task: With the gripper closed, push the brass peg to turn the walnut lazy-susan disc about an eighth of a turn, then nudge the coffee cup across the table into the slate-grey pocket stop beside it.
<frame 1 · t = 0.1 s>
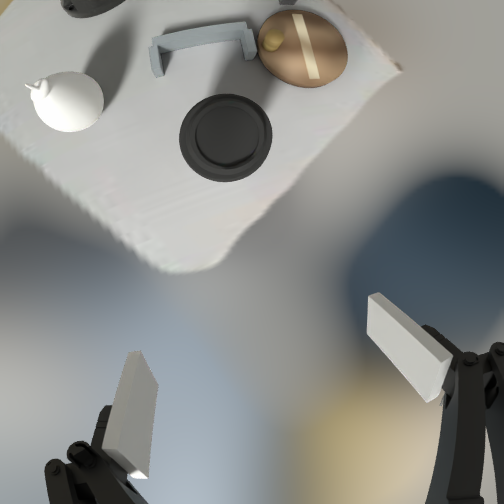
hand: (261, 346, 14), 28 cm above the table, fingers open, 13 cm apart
coffee cup: (220, 146, 37), on the table
pocket stop: (199, 41, 31), on the table
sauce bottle: (91, 110, 32), on the table
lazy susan: (307, 42, 30), point 3 cm above the table, hinge at 0.0°
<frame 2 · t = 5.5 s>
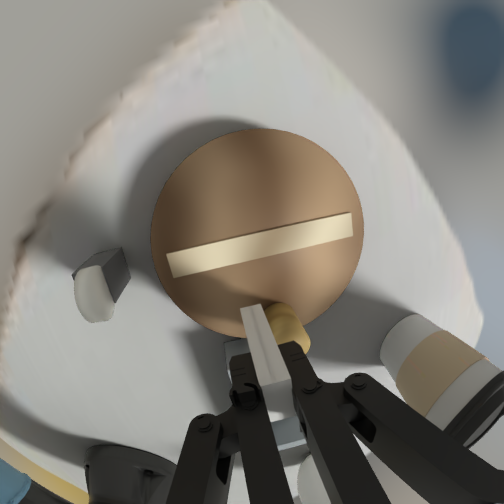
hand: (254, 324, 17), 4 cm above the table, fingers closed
coffee cup: (403, 340, 26), on the table
pocket stop: (247, 392, 24), on the table
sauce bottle: (314, 453, 31), on the table
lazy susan: (267, 247, 16), point 3 cm above the table, hinge at 1.0°, touching gripper
dark boxy piece: (112, 266, 19), on the table
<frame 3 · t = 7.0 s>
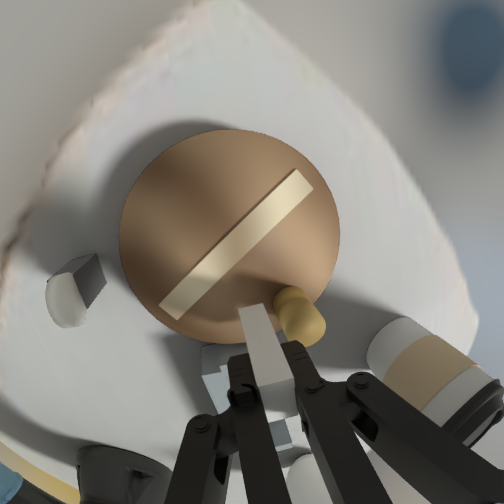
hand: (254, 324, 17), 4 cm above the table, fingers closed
coffee cup: (392, 343, 25), on the table
pocket stop: (228, 396, 24), on the table
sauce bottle: (304, 456, 30), on the table
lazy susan: (233, 252, 16), point 3 cm above the table, hinge at 32.7°
dark boxy piece: (88, 271, 18), on the table
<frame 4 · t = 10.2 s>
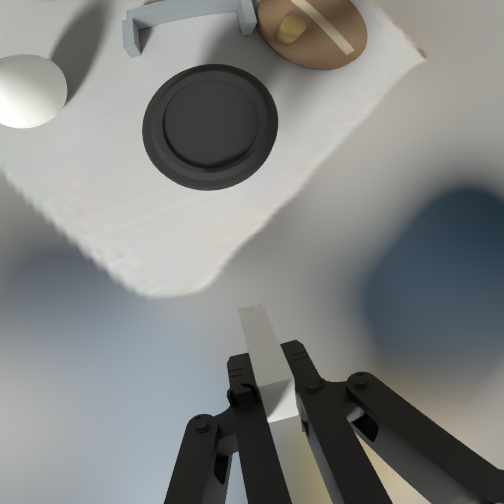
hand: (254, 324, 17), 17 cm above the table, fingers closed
coffee cup: (208, 140, 29), on the table
pocket stop: (186, 13, 23), on the table
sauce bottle: (56, 101, 23), on the table
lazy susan: (319, 15, 22), point 3 cm above the table, hinge at 32.7°
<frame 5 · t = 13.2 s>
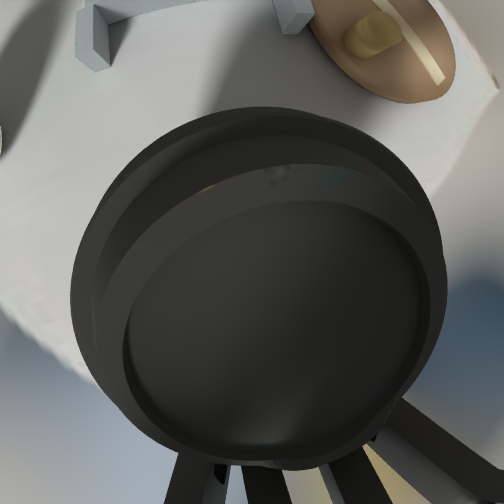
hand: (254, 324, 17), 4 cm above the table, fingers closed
coffee cup: (229, 220, 18), on the table, touching gripper
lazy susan: (402, 17, 12), point 3 cm above the table, hinge at 32.7°
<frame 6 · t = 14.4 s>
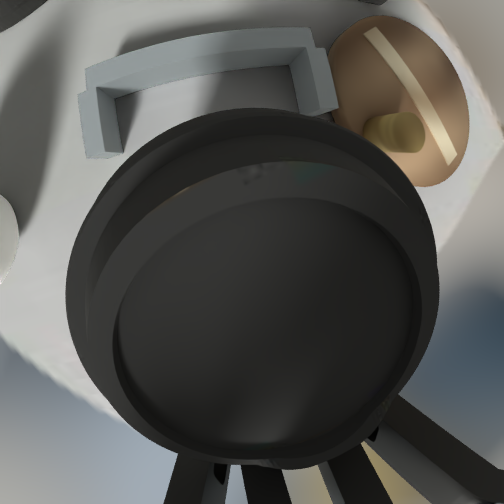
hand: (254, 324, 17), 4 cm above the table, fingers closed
coffee cup: (228, 223, 18), on the table, touching gripper
pocket stop: (199, 65, 15), on the table
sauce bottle: (8, 224, 15), on the table
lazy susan: (424, 94, 14), point 3 cm above the table, hinge at 32.7°
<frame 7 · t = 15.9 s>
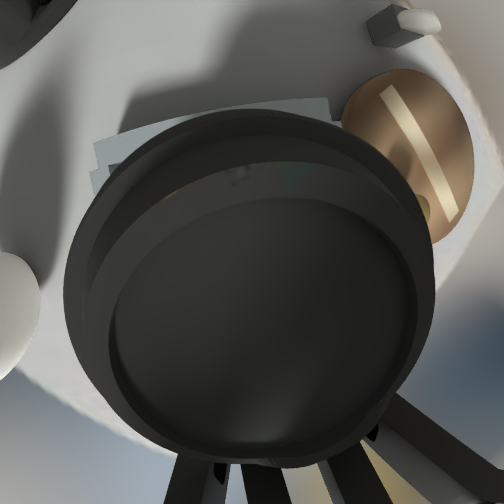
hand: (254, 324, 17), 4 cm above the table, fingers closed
coffee cup: (227, 223, 18), on the table, touching gripper
pocket stop: (211, 131, 16), on the table
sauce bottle: (26, 278, 17), on the table
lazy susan: (433, 158, 16), point 3 cm above the table, hinge at 32.7°
dark boxy piece: (380, 34, 15), on the table
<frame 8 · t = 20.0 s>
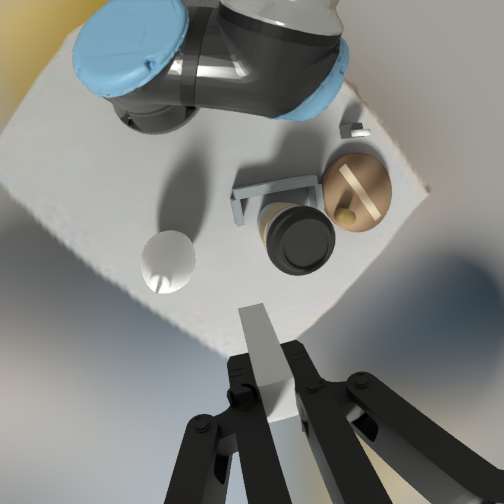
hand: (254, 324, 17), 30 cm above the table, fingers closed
coffee cup: (276, 221, 47), on the table
pocket stop: (272, 185, 44), on the table
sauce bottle: (173, 246, 45), on the table
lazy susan: (363, 193, 44), point 3 cm above the table, hinge at 32.7°
dark boxy piece: (346, 131, 43), on the table
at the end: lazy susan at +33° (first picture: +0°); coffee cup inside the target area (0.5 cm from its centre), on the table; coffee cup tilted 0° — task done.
